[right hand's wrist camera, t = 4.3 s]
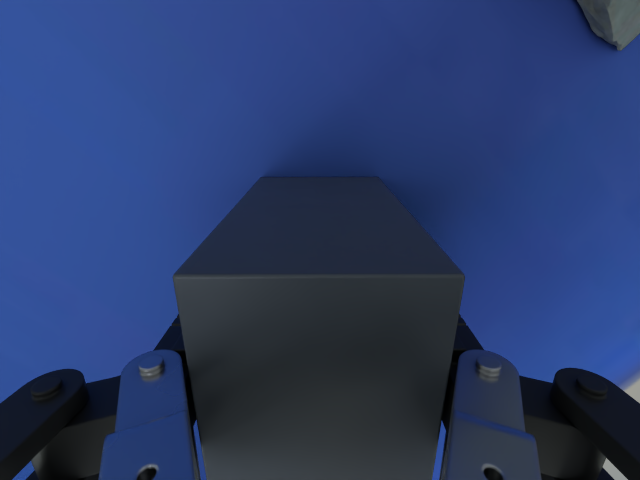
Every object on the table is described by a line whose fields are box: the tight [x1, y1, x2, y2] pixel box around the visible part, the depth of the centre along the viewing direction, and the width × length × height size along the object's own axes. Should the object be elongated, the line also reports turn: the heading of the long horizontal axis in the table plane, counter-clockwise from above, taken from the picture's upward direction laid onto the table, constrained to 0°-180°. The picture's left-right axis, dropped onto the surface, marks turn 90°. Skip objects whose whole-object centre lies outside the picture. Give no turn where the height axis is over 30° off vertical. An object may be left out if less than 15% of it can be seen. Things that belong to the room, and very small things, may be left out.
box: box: [173, 177, 465, 480], centre depth 16 cm, size 22×6×11 cm, turn 0°
